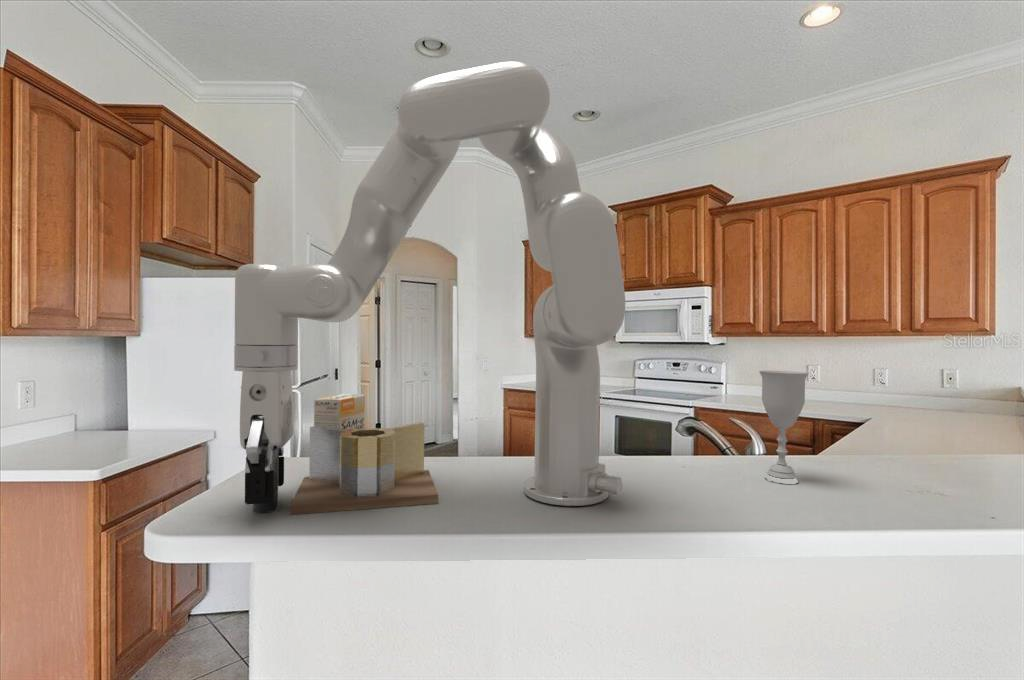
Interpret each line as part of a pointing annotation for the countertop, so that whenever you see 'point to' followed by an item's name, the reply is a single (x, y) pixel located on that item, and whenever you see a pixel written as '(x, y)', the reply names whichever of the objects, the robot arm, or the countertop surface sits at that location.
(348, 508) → the walnut board
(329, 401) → the supplement box
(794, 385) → the chalice
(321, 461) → the hinge
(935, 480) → the countertop surface
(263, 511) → the hinge pin
